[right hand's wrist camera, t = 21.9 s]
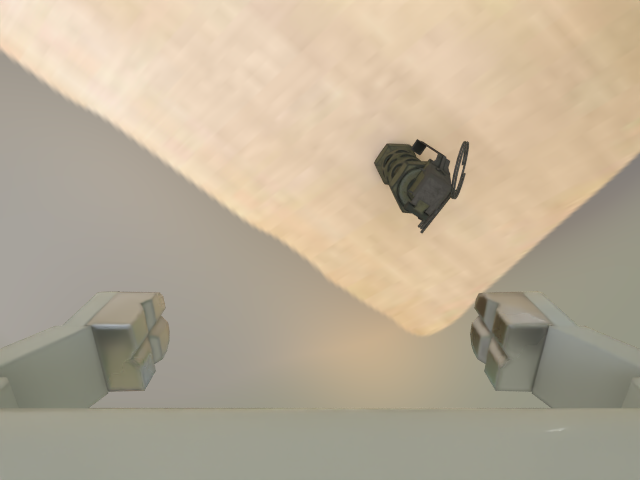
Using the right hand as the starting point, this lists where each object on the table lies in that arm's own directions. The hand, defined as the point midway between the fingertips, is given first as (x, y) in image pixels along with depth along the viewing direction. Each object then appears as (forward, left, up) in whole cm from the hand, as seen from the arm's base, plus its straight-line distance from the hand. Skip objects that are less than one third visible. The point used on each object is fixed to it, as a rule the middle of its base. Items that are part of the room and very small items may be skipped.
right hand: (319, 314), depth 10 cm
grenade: (-10, 0, -37) cm, 39 cm away
